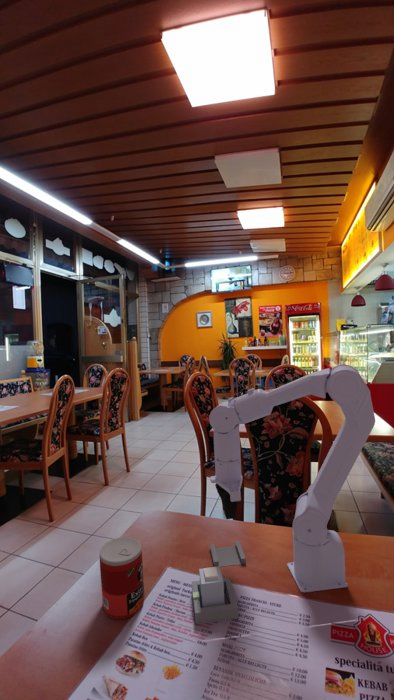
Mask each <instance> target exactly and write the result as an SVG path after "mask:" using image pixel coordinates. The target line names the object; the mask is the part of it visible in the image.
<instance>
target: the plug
mask: <svg viewBox="0 0 394 700" xmlns="http://www.w3.org/2000/svg"><path fill="white" fill-rule="evenodd" d="M198 570H199V572H198V574H199V581H200V595H199V596H200V601H201V602H200V604H201V608H203V607H211V606H219V605H226V604H225V591H224V582H223V578H224V577H223V575H222V569H221V567H220V566H218V567H214V566H212V567H211V566H210V567H205V568H204V567H203V568H199V569H198Z"/></svg>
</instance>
